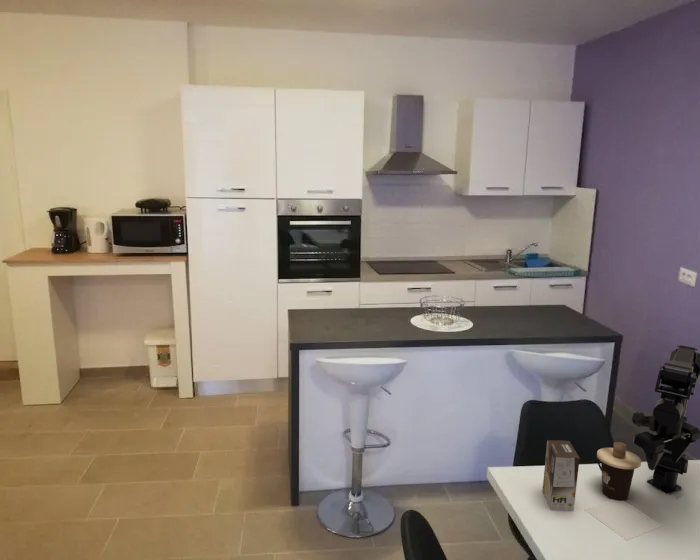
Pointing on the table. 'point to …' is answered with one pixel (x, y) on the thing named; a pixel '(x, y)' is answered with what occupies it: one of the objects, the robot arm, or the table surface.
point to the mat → (622, 518)
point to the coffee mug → (615, 481)
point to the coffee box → (560, 475)
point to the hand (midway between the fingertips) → (662, 465)
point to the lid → (619, 457)
